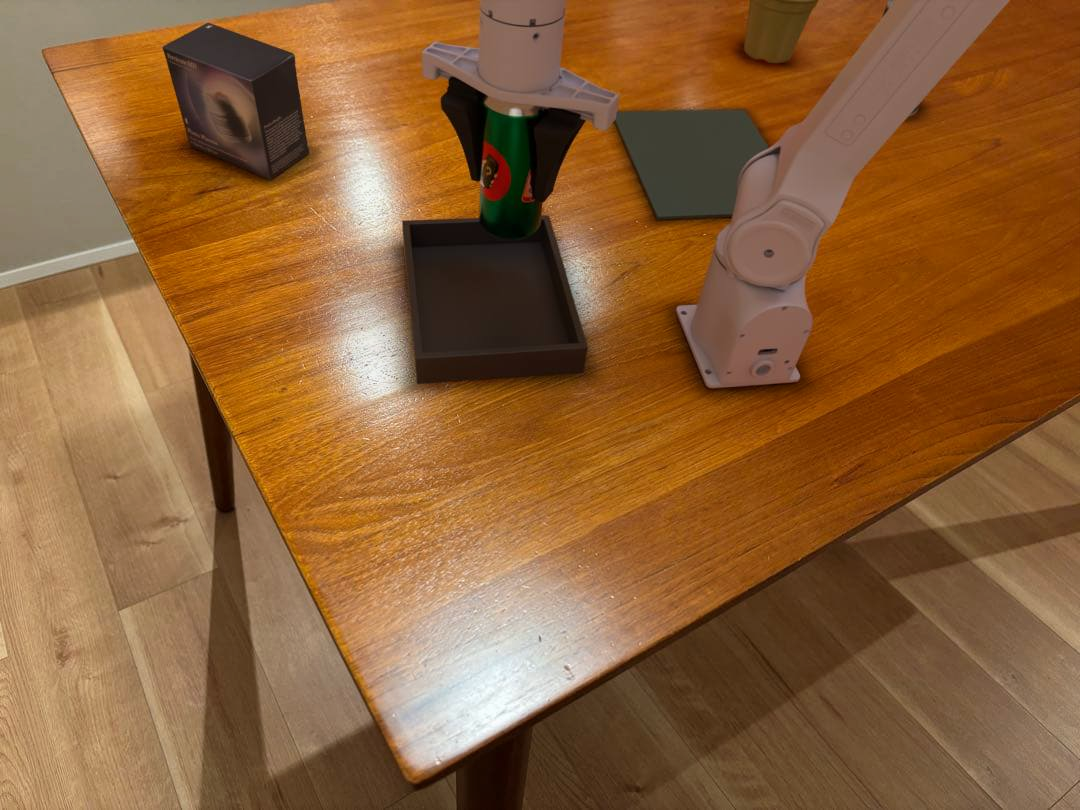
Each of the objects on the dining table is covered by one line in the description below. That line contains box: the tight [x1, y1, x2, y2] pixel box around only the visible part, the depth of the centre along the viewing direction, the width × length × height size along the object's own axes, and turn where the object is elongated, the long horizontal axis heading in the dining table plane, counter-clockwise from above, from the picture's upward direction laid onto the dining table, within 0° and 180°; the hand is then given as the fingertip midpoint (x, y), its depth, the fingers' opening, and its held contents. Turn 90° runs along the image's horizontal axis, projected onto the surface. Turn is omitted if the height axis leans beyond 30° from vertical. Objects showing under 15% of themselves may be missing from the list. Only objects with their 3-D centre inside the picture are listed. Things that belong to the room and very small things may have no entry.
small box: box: [161, 22, 310, 181], centre depth 78 cm, size 11×6×10 cm, turn 62°
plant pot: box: [743, 0, 819, 64], centre depth 103 cm, size 9×9×9 cm
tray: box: [401, 214, 589, 385], centre depth 69 cm, size 17×13×3 cm
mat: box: [613, 109, 770, 221], centre depth 87 cm, size 20×16×1 cm
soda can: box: [478, 93, 549, 241], centre depth 63 cm, size 5×5×12 cm
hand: (512, 185), depth 64 cm, fingers closed on soda can, 5 cm apart
